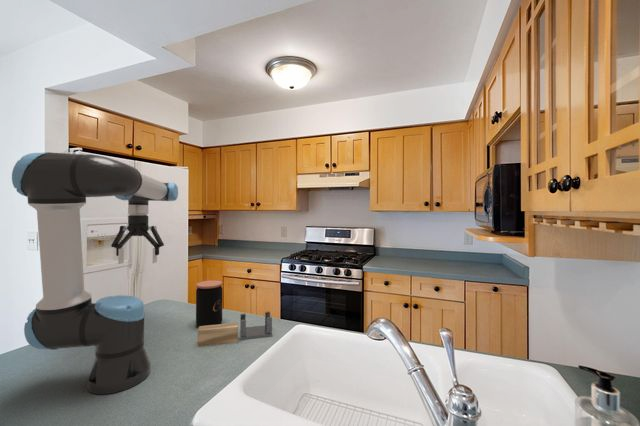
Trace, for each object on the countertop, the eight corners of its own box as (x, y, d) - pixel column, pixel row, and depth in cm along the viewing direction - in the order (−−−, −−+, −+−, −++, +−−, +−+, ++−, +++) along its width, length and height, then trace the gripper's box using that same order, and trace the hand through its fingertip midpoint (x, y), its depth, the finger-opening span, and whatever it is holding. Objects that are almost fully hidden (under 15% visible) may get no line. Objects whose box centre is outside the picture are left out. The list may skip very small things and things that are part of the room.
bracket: (272, 336, 111) (272, 318, 111) (240, 339, 108) (240, 321, 108) (269, 327, 120) (269, 310, 120) (240, 330, 117) (240, 313, 117)
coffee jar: (216, 330, 117) (216, 286, 117) (191, 329, 117) (191, 286, 117) (225, 320, 127) (226, 280, 127) (202, 319, 128) (202, 280, 128)
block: (237, 342, 106) (237, 326, 106) (197, 347, 102) (197, 330, 102) (237, 338, 110) (237, 322, 110) (199, 342, 106) (199, 326, 106)
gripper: (171, 215, 130) (171, 261, 130) (111, 214, 126) (111, 262, 126) (165, 215, 122) (165, 263, 122) (101, 214, 118) (101, 265, 118)
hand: (138, 263), depth 124 cm, fingers open, 13 cm apart
